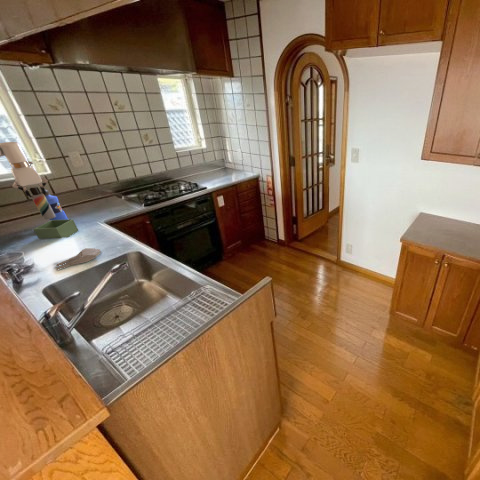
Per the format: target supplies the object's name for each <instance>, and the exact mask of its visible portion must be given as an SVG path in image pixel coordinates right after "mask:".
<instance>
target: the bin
mask: <svg viewBox="0 0 480 480" xmlns="http://www.w3.org/2000/svg"><path fill="white" fill-rule="evenodd" d="M32 230H33V232H34V233H35V235H36V237H37V238H38V239H39V240H42V239H62V238H69V237H71V236H73V235H74V234H76V233H78V232H79V231H78V230H79V228H78V226H77V225H76V223H75V221H74V219H73V218H72V219H71V218H70V219H69V218H68V219H66V220H51V221H50V220H49V221H46V222H44V223H43V224H40V225H39V226H37V227H34V228H33V229H32ZM77 231H78V232H77ZM75 232H76V233H75ZM73 233H74V234H73ZM72 234H73V235H72ZM70 235H71V236H70Z"/></svg>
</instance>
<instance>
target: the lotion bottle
mask: <svg viewBox="0 0 480 480" xmlns="http://www.w3.org/2000/svg"><path fill="white" fill-rule="evenodd" d="M28 191H29V192H30V194H31V197H30V198H31V199H32V201H33V203H34V205H35V206H36V209H37V210H38V212H39V213H40V215H41V217H42V218H43V220H50V219H52V218H55V217H56V216H55V214H54V212H53V210H52V208H51V206H50V204H49V203H48V201H47V199H46V197H45V195H44V194H42V193H41V192H40V191H41V189H40V188H39V187H38V186H29V188H28Z"/></svg>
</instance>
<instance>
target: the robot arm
mask: <svg viewBox="0 0 480 480" xmlns="http://www.w3.org/2000/svg"><path fill="white" fill-rule="evenodd" d="M1 157H5V158H6V160H7V162H8V163H9V165H10V166H11V168H10V171H11V174H12V176H13V178H14V182H13V184H12V188H13V189H14V188H15V189H18V190H20V191H23V192H24V194H25V196H26V197H29V198H32V197H31V196H32V194H31V192H30V190H29V189H27V187H29V186H33V185H38V186H39V190H40V191H42V193H43V194H46V191H45V190H46V189H45V186H46V185H47V184H48V182H49V179H47V178H44V177H42V176H40V174H39V172H38V171H37V170H36V168H35V167H34V166H33V164H34V162H33V161H29V159H28V158H27V156H26V154H25V152H24V151H23V149H22V147H21V145H20V143H18V142H16V141H6V142H0V158H1Z"/></svg>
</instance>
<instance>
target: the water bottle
mask: <svg viewBox="0 0 480 480" xmlns="http://www.w3.org/2000/svg"><path fill="white" fill-rule="evenodd" d="M45 191H46V194H44V195H45V197H46V199H47V201H48V203H49V204H50V206H51V208H52V210H53V212H54V214H55V216H56V217H55V218H52V219H49V221H51V220H66V219H69V218H68V216H67V214H66V212H65V211H64V209H63V208H62V206H61V203H60V201H59V198H58V196H56V195H52V194H51V193H50V192H49V191H48V189H45ZM40 192H41V193H42V191H41V190H40ZM42 194H43V193H42Z"/></svg>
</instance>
